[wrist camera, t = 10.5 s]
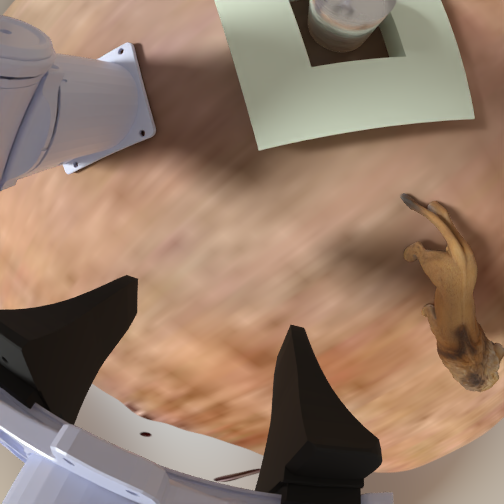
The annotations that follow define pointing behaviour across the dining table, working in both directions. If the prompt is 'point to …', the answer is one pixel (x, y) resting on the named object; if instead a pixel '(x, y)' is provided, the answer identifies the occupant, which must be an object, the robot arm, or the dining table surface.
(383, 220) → the dining table surface
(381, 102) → the socket block
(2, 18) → the robot arm
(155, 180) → the dining table surface
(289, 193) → the dining table surface
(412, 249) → the lion figurine
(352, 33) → the peg
